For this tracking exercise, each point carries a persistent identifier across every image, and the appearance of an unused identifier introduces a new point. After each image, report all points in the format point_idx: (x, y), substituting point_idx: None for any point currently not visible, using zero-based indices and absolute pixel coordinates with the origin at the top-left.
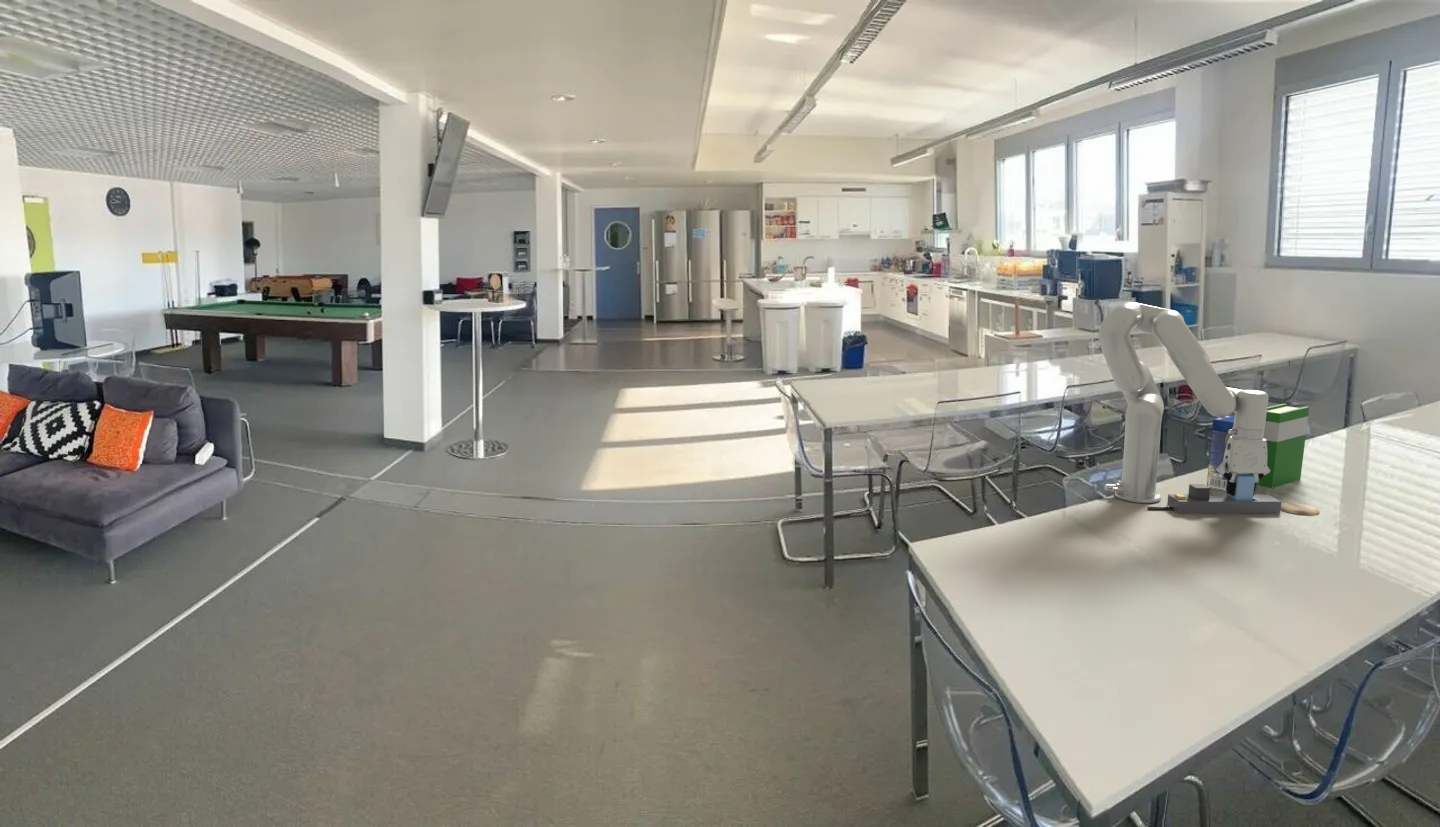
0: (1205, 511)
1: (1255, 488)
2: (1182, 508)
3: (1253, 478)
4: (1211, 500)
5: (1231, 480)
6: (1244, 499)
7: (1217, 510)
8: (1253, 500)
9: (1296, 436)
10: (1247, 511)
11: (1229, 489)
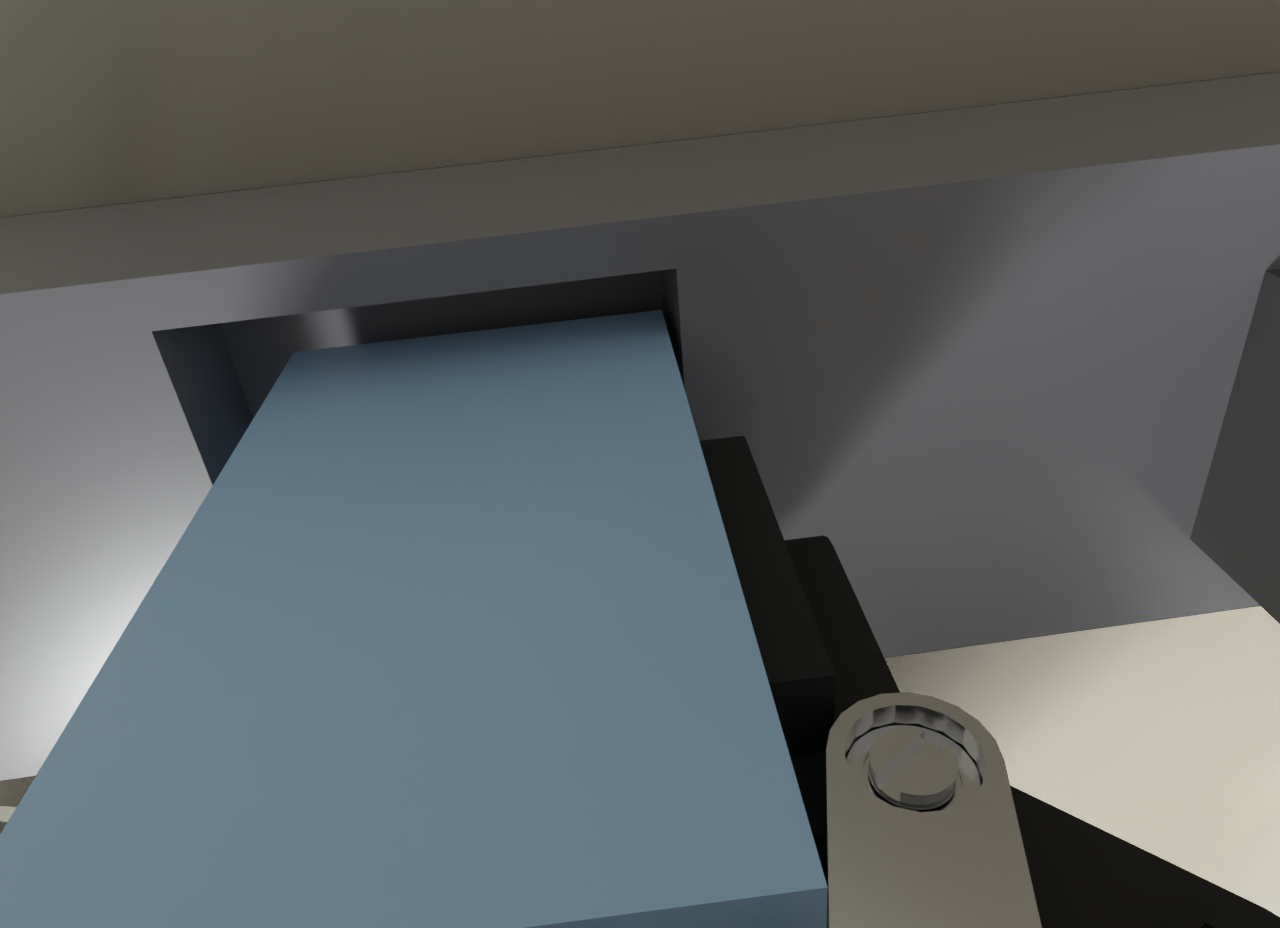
0: (1252, 87)
1: None
2: None
3: (46, 899)
4: (1242, 240)
5: (953, 753)
6: (461, 369)
7: (1034, 117)
8: None
9: None
10: (429, 179)
11: (835, 566)
